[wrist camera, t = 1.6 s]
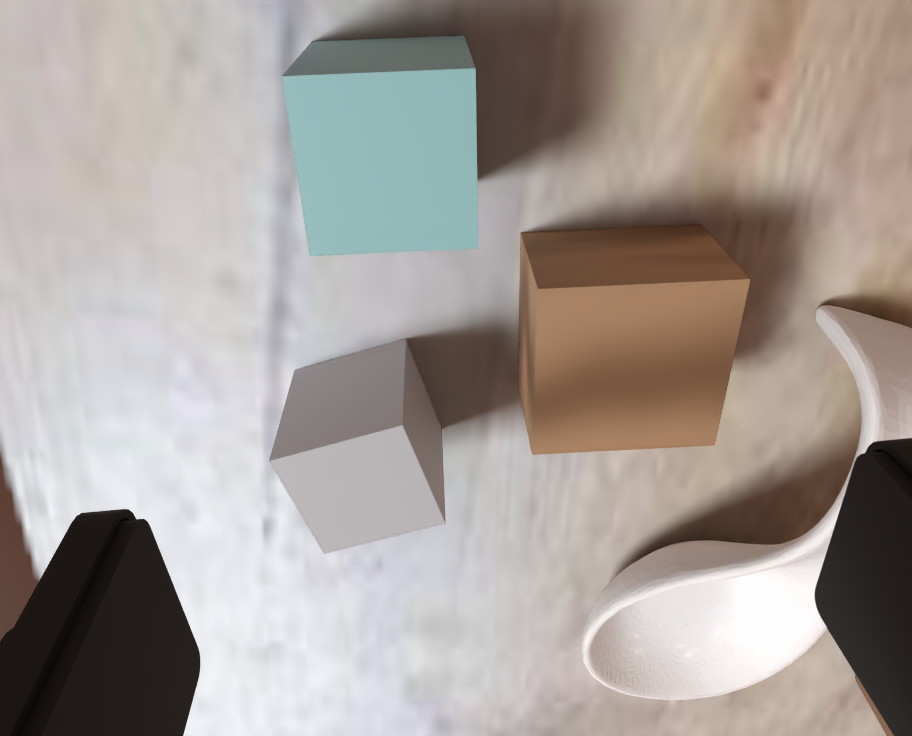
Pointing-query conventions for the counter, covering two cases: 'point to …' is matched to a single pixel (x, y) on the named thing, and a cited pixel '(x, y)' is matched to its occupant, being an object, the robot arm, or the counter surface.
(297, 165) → the teal block
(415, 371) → the grey block
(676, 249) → the walnut block
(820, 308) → the spoon rest
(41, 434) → the counter surface
